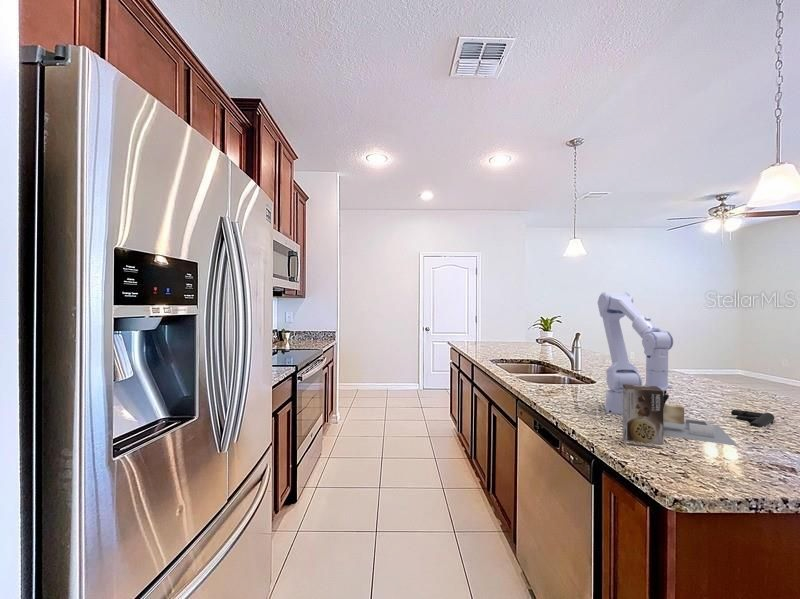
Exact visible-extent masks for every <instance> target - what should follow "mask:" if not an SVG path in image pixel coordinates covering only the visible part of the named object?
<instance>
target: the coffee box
mask: <svg viewBox="0 0 800 599" xmlns="http://www.w3.org/2000/svg"><path fill="white" fill-rule="evenodd" d="M622 440H623V441H624V443H625V445H626V446H630V445H631V446H632V447H641V448H650V449H660V450H664V447H657V446H651V445H645V444H637V443H633V442H641V443H648V444H649V443H650V444H660V445H664V444H665V443H664V441H665V440H664V434H663V391H662V390H661V389H660V388H659V387H657V386H645V384H644V385H643V384H642V385H628V384H623V415H622ZM628 441H632V443H631V442H628Z"/></svg>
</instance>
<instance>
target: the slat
mask: <svg viewBox="0 0 800 599" xmlns="http://www.w3.org/2000/svg"><path fill="white" fill-rule="evenodd" d="M684 421H685V407H684V405H681V404H673V403H672V404H671V403H665V405H664V408H663V422H669V423H677V424H684Z"/></svg>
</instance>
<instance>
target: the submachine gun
mask: <svg viewBox="0 0 800 599" xmlns="http://www.w3.org/2000/svg"><path fill="white" fill-rule="evenodd" d="M730 413H731V414H730V415H729V416H728V415H724V414H723V415H722V417H724V418H730V419H734V420H735V419H736V420H737V421H744V422H747V423H749V426H750V427H755V428H759V429H760V428H765V429H767V428H769V427H770V426H771V424H772V422H773V421H775V422H776V421H777V420H776V417H775V416H774V414H772V413H770V412H765V413H763V412H756V411H748V410H742V409H741V410H739V409H732V410H731V412H730Z"/></svg>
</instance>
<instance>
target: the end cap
mask: <svg viewBox="0 0 800 599" xmlns="http://www.w3.org/2000/svg"><path fill="white" fill-rule="evenodd" d="M684 421H685V429H687V430H689V434H690V435H698V436H705V437H713V438H714V427H713V426H712V425H713V424H712V425H711V422H710V421H709V420H701V419H693V418H685V417H684Z"/></svg>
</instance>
